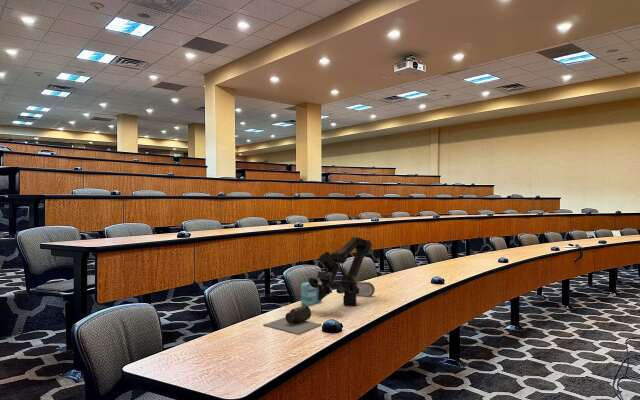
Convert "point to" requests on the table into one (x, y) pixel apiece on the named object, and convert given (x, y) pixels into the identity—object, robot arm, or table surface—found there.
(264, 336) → the table surface
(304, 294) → the data package
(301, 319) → the supplement bottle
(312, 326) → the mat
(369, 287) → the beige rounded slab
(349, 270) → the robot arm
